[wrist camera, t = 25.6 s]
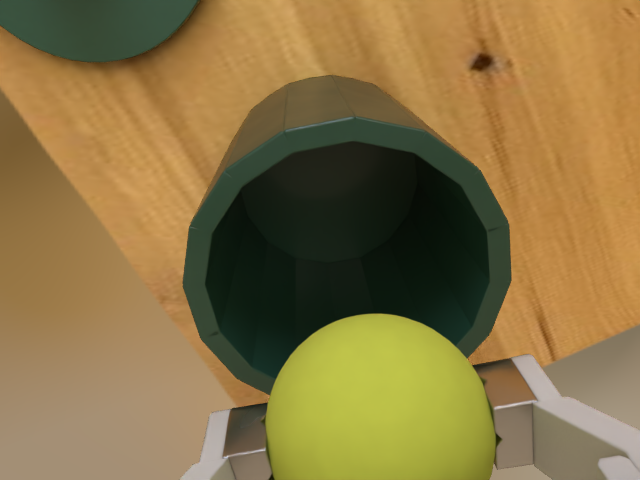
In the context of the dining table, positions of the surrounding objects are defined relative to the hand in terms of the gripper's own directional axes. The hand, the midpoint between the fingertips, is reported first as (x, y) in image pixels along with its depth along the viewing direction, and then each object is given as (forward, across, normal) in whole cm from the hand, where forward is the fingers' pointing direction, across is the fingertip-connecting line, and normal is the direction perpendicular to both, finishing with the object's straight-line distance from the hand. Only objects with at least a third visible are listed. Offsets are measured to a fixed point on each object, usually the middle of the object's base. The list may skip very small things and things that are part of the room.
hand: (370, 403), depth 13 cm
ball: (-1, 0, 0) cm, 1 cm away
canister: (+19, 0, 0) cm, 19 cm away
